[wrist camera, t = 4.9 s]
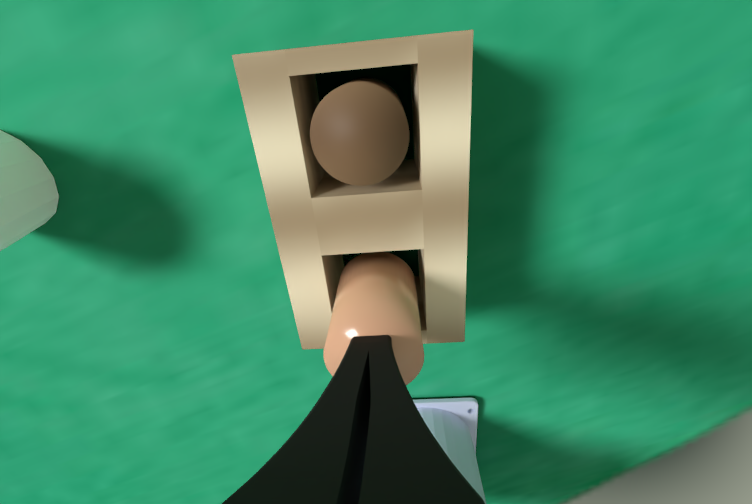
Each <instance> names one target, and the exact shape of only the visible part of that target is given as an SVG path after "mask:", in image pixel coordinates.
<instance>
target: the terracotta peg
mask: <svg viewBox="0 0 752 504" xmlns="http://www.w3.org/2000/svg"><path fill="white" fill-rule="evenodd" d="M374 335H389V336H390V337H391V339H392V348H393V352H394V356H395V359H396V362H397V365H398V368H399V371H400V373H401V376H402V378H403V380H404V383H405V385H407V384H408V383H410V382H411V381H412V380H413V379H414V378H415V377H416V376H417V375H418V374H419V372H420V370H421V368H422V366H423V362H424V351H423V342H422V334H421V326H420V317H419V309H418V301H417V292H416V284H415V277H414V274H413V272H412V270H411V268H410V267H409V266H408V264H407V263H406V262H405V261H403V260H402V259H401V258H399V257H398V256H396V255H393V254H391V253H387V252H369V253H363V254H360V255H358V256H356V257H354V258H353V259H352V260H350V261H349V262H348V263H347V264H346V266H345V267H344V269H343V270H342V273H341V276H340V280H339V284H338V289H337V293H336V298H335V302H334V307H333V311H332V316H331V320H330V325H329V329H328V334H327V338H326V343H325V347H324V361H325V364H326V367H327V369H328V370H329V372H330V373H331V375H332V376H334V374H335V372H336V370H337V368H338V367H339V365H340V363H341V361H342V359H343V357H344V355H345V353H346V350H347V348H348V346H349V344H350V341H351V339H352V338H353V337H354V336H374Z"/></svg>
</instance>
